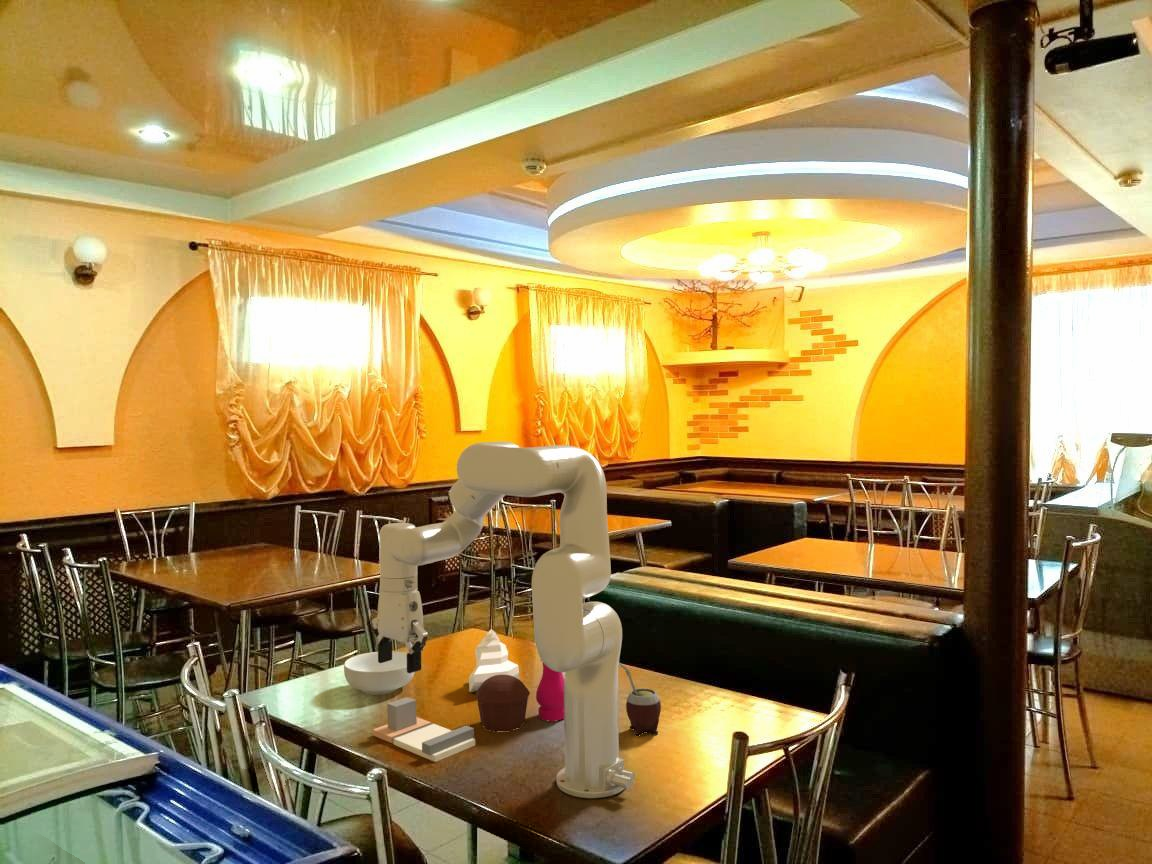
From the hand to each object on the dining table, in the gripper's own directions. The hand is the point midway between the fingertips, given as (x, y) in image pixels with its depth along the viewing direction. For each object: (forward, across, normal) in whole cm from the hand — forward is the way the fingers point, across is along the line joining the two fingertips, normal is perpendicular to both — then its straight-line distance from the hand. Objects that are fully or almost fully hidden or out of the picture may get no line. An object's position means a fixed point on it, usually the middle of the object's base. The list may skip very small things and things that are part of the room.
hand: (399, 666), depth 168 cm
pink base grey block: (+14, -1, 0) cm, 14 cm away
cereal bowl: (+14, +25, -13) cm, 32 cm away
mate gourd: (+13, -39, -31) cm, 52 cm away
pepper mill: (+13, -19, -26) cm, 35 cm away
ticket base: (+13, -11, 0) cm, 17 cm away
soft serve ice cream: (+14, +6, -31) cm, 35 cm away
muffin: (+14, -14, -16) cm, 25 cm away
